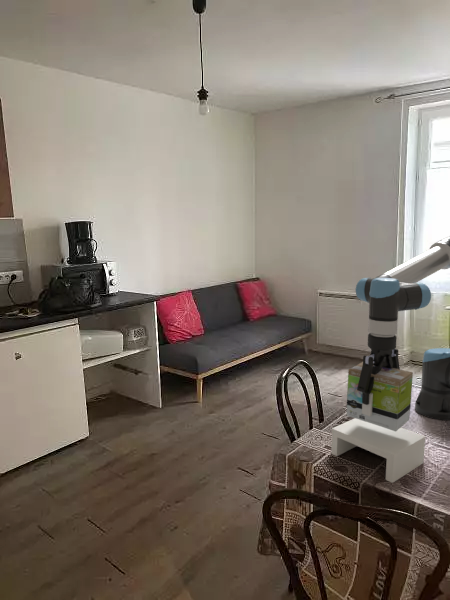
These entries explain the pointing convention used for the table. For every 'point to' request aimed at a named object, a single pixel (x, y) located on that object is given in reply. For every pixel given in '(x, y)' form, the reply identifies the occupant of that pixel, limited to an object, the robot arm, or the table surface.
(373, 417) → the tea box
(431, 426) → the table surface
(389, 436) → the white riser stand
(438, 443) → the table surface
